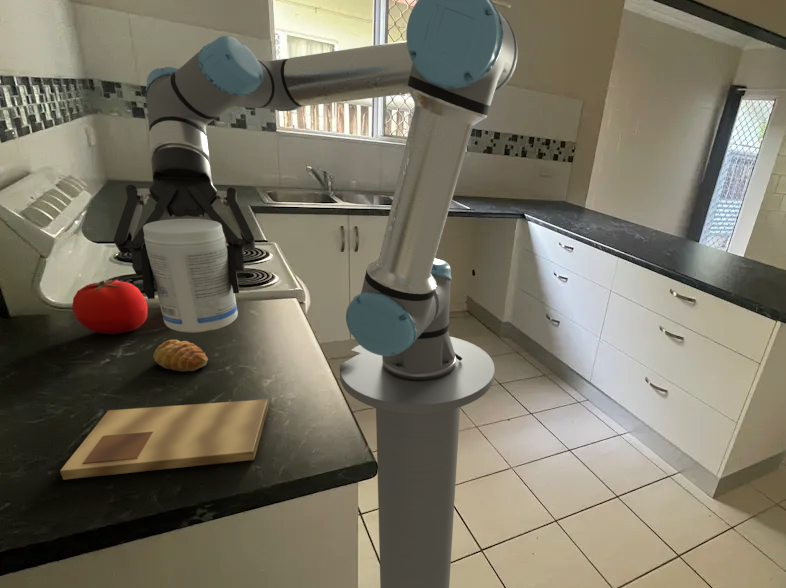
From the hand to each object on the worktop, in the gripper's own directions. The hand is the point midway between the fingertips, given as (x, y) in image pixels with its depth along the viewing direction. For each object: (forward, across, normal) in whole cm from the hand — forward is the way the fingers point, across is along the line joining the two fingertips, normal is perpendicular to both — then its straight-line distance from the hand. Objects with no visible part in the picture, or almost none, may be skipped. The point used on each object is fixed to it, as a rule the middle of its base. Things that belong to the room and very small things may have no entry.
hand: (193, 291), depth 67 cm
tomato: (-13, +18, -43) cm, 49 cm away
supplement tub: (+2, 0, -6) cm, 7 cm away
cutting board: (+18, +5, -12) cm, 22 cm away
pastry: (0, +6, -30) cm, 31 cm away
